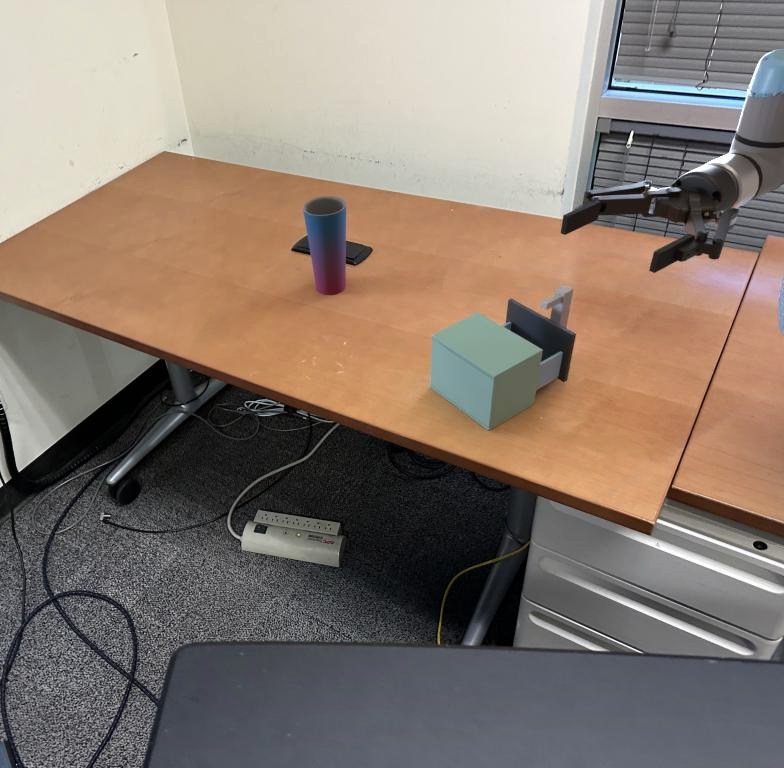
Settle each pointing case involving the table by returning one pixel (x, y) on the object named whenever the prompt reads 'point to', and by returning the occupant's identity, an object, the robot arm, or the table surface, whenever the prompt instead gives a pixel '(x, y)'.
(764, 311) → the table surface
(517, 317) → the dark grey drawer
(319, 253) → the cup
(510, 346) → the box
